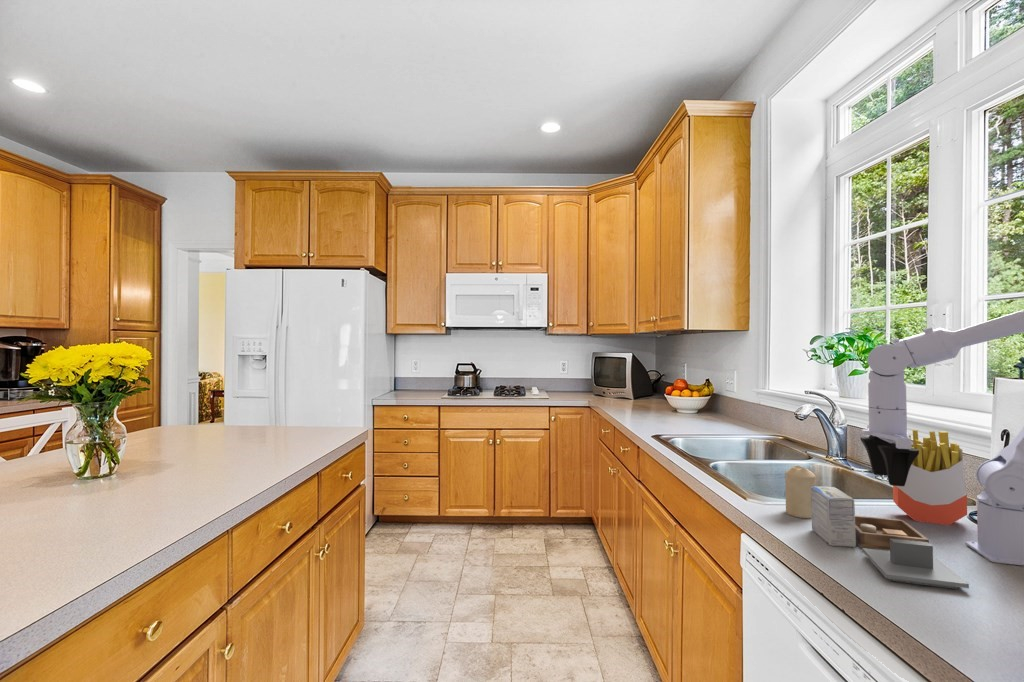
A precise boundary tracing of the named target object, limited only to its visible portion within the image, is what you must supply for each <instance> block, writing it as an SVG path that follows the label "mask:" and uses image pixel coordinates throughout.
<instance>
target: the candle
mask: <svg viewBox="0 0 1024 682" xmlns="http://www.w3.org/2000/svg"><path fill="white" fill-rule="evenodd" d="M784 474H785V512H786V514H787V513H788V515H789V516H792V517H795V518H800V519H801V518H802V519H812V509H811V487H815V486H817V485H816V475H815V474H814V472H812V471H810V470H809V469H808V468H805V467H803V466H800V465H793V466H791V467H790V468H789V469H787V470H786V471H785V473H784Z"/></svg>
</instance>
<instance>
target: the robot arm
mask: <svg viewBox="0 0 1024 682" xmlns="http://www.w3.org/2000/svg"><path fill="white" fill-rule="evenodd" d="M1021 333H1022V334H1023V333H1024V309H1022V310H1019V311H1015V312H1012V313H1009V314H1005V315H1002V316H1000V317H996V318H993V319H990V320H986V321H984V322H983V321H982V322H980V323H977V324H974V325H971V326H968V327H964V328H961V329H958V330H954V331H951V330H949V329H945V328H943V327H938V328H933V327H932V326H930V327H925V328H923V329H922V332H921V333H918V334H913V335H912V336H908V337H904V338H902V339H899V337H896V338H893V339H892V344H891V343H882V344H881V345H878V346H875V347H874V348H872V350H871V351H870V352H869V353H868V356H867V359H866V361H867V365H868V366H869V368H870V370H869V373H868V380H869V382H868V383H867V384H868V385H867V386H868V388H867V389H868V390H867V391H868V392H867V395H868V424H867V429H866V428H865V429H863V428H862V429H861V434H863V435H868V437H866V436H863V437H862V436H860V441H861V443H862V444H863V447H864V448H865V450H866V452H867V453H866V454H867V455H868V459H869V463H870V466H871V470H872V474H874V475H875V476H887V480H888V481H887V482H888V484H889V486H892V487H893V486H905V483H906V480H907V476H908V473H909V470H910V467H911V465H912V463H913V461H914V459H915V458H916V457H917V456H918V454H919V450H917V449H913V448H911V444H912V437H911V438H909V435H910V434H909V432H908V422H907V421H908V419H907V418H908V413H907V412H908V411H907V410H908V409H907V406H908V405H907V384H906V383H905V369H906V368H911V369H917V368H921V367H925V366H929V365H933V364H936V363H940V362H943V361H947V360H951V359H955V358H956V357H957V356H958V354H959V352H960V351H961V349H963V348H966V347H969V346H973V345H978V344H981V343H985V342H989V341H993V340H999V339H1000V338H1001V339H1003V338H1005V337H1009V336H1013V335H1017V334H1021ZM976 478H977V481H978V483H979V485H981V486H982V487H983V490H982V492H981V493H979V494H977V496H976V510H977V511H976V514H977V515H976V516H977V518H976V521H977V541H965V545H967V546H968V547H969V548H971V549H972V550H974V551H975V552H977V553H978V554H980V555H981V556H983V557H984V558H985V559H987V560H988V561H990V562H992V563H997V564H1007V565H1015V566H1016V565H1018V566H1024V426H1023V427H1022V429H1021V430H1020V431H1019V432H1018V434H1017V435H1016V436H1015V437H1014V439H1013V440H1012V441H1011V442H1010V443H1009V444H1008V445H1007V446H1005V447H1003V448H1002V449H1001V450H1000V451H999V452H998V453H997V454H996V455H995V456H994V457H993V458H991V459H988V460H985V461H983V462H982V463H981V464H980V465H978V467H977V469H976Z"/></svg>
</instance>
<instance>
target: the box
mask: <svg viewBox="0 0 1024 682" xmlns="http://www.w3.org/2000/svg"><path fill="white" fill-rule="evenodd" d="M855 535H856V545H858V546H859V547H860V548H866V549H876V550H885V551H890V539H900V540H910V541H920V542H928V543H929V544H930V538H929V539H928V538H927V537H926V536H925V535H923V534H922V533H921V532H920V531H918V530H917V529H916V528H915V527H913V525H911V524H909V523H907V521H905V519H895V518H886V517H874V516H865V515H864V516H863V515H855Z"/></svg>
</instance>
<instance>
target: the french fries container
mask: <svg viewBox="0 0 1024 682" xmlns="http://www.w3.org/2000/svg"><path fill="white" fill-rule="evenodd" d="M928 432H929V433H928V434H929V436H928V437H923V439H922V440H919V431H918V429H913V430H912V435H911V434H908V435H909V438H911V439H912V440H913V442H912V443H913V444H912V443H911V448H913V449H917V450H919V454H918V456H917V457H916V458H915V459H914V461H913V463H912V465H911V467H910V470H909V473H908V476H907V480H906V483H905V486H892V489H893V490H892V491H893V492H892V493H893V494H892V497H893V498H892V499H893V500H892V501H893V502H894V503H895V505H896V506H897V507H898V508H899V510H901V511H902V512H904V514H906V515H907V516H908V517H910V518H911V519H912V520H913V521H915V522H922V523H929V524H936V525H937V524H938V525H946V526H950V525H952V524H954V523H956V522H958V521H959V520H960V519H963V518H965V517H966V516H968V494H967V493H968V492H967V484H966V477H965V468H964V460H963V459H964V458H963V453H964V452H963V449H962V448H961V447H960V445H959V444H958V443H955V442H950V441H949V432H948V431H937V432H938V440H939V443H938V441H937V437H936V431H934V430H931V431H928Z"/></svg>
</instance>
